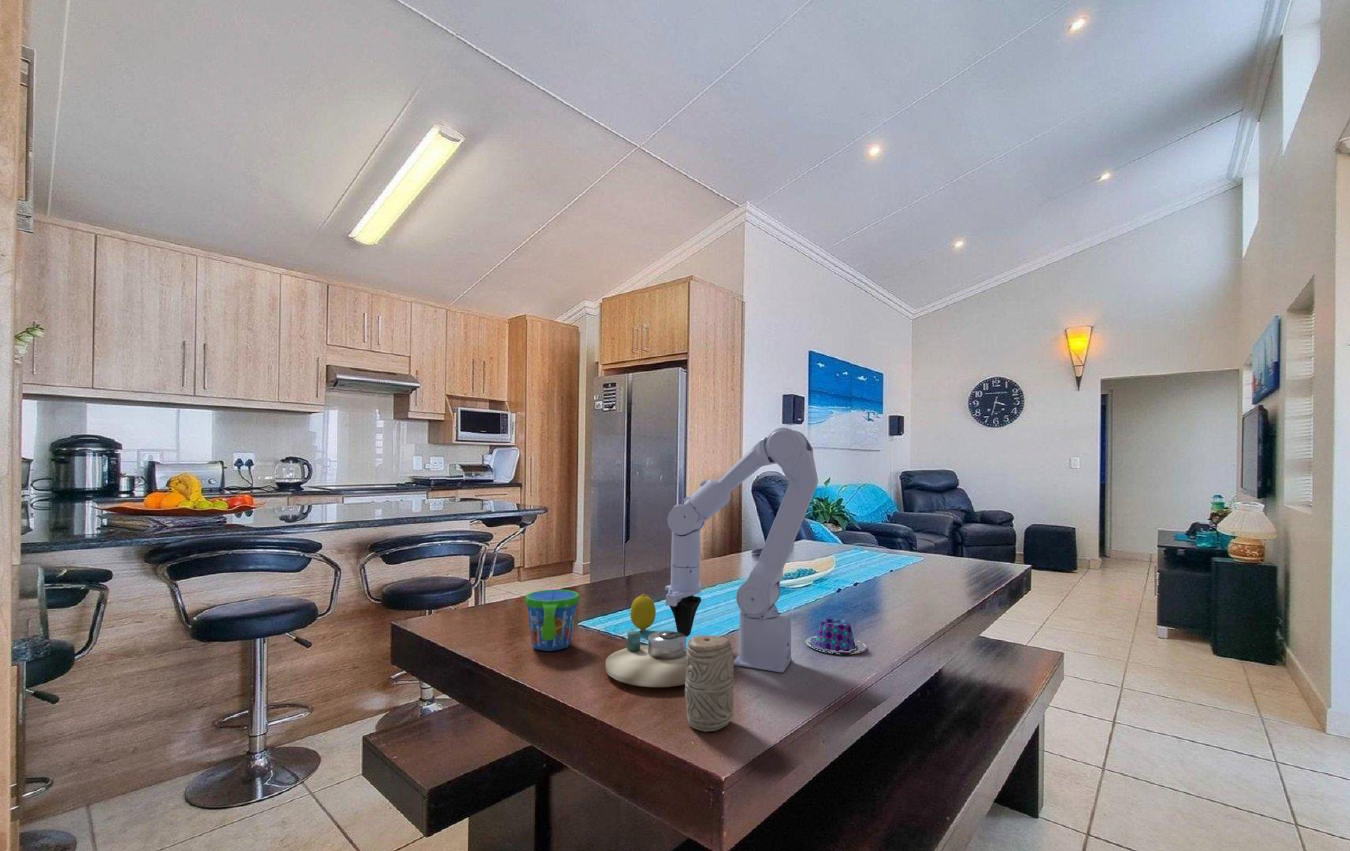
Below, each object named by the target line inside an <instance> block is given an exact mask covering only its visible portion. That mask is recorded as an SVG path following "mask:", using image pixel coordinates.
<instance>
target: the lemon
mask: <svg viewBox="0 0 1350 851" xmlns="http://www.w3.org/2000/svg"><path fill="white" fill-rule="evenodd" d="M656 614H657V612H656V606H655V602H654V600H653V599H652V598H651V597H650V596H648V595H646V594H645V593H642V594H641V595H639V596H637V597H636V598H635V599H634V600H632V603H631V607H630V621H631V623H632V624H633V626H634V627H635V628H637V629H639V630H640V631H641V632H645V631H646V629H648V628H650V627H651V626H652V625H653V624H654V622H655V621H656V620H655V619H656Z"/></svg>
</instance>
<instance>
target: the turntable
mask: <svg viewBox="0 0 1350 851" xmlns="http://www.w3.org/2000/svg"><path fill="white" fill-rule="evenodd" d="M626 644H627V646H626V647H625V648H621V649H619V650H616V651H615V652H613V653H611V654H610V655H608V656H607V657H606V659H605V672H606V673H607V674H608V676H609V677H611V678H613V679H614V680H616V681H618V682H620V683H621V682H622V683H624V684H627V685H630V686H637V687H646V688H671V687H677V686H682V685H685V682H686V679H685V678H686V665H687V659H686V657H687V651H688V650H687V647H686V655H685V656H684V657H683V658H680V659H675V660H660V659H655V658H652V657H650V656H649V655H648V644H644V645H641V632H640V631H636V630H635V631H634V630H632V631H628V632H627V643H626Z"/></svg>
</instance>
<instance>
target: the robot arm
mask: <svg viewBox="0 0 1350 851" xmlns="http://www.w3.org/2000/svg"><path fill="white" fill-rule="evenodd" d="M775 464H777V465H778V466H779V467H780V468H781V470H782V473H783V475H784V476H785V479H786V480H787V482H788V485H787V488H786V491H785V493H784V495H783V498H782V500H781V503H780V505H779V507H778V510H777V513H776V516H775V518H774V520H773V523H772V525H771V527H770V530H769V533H768V535H767V538H766V539H765V542H764V545H763V547H762V549H761V551H760V552H761V553H760V555H759V557H758V560H757V562H756V563H755V565H754V567H753V569H752V570H751V571H750V573H749V576H748V578H747V579H746V581H745V582H743V583H742V584H741V585H740V586H739V587H738V589H737V591H736V595H735V596H736V597H735V599H736V600H735V601H736V603H737V606H738V608H739V643H738V644H739V646H738V648H739V649H738V650H739V651H738V652H739V653H738V656H736V657H735V658H734V659H733V661H734V666H740V667H745V668H746V667H747V668H752V669H757V670H765V671H771V672H777V673H784V672H786V671H785V670H786V669H787V667H788V666H789V664H790V662H791V661H792V659H793V657H792V622H791V618H789V617H787V616H785V615H784V616H783V615H781V614H779V610H778V607H777V605H776V602H778V600H779V599H780V596H781V581H782V579H783V578H782V577H783V575H784V568H785V565H786V562H787V560H788V558H789V556H790V552H791V551H792V548H793V546H794V543H795V541H796V537H797V535H798V534H799V531H800V528H801V526H802V524H803V521H804V518H805V517H806V514H807V511H808V509H809V507H810V504H811V502H812V498H813V496H814V494H815V491H816V490H817V486H818V483H819V478H818V473H817V469H816V462H815V458H814V449H813V447H812V445H811V443H810V441H809V440H808V438H807V437H806V436H805V434H803V432H800V431H798V430H793V429H792V428H788V427H777V428H776V429H774V430H772V431H771V432H770V433H769V434H768V436H765V437H764V438H761V439H760V440H758V442H757V443H756V444H755V445H754V446H753V447H751V449H749V450H748V451H747V452H746V453H745V454H744V455H743V456H742V457H741V458H740V459H739V460H737V462H736V463H735V464H734V465H733V466H732V467H731V468H729V469H728V471H727V472H726V473H725V474H723V476H721V477H720V478H719V479H717V478H710V479H708V480H707V479H706V480H703V481H702V482H700V483H699V485H700V487H699V488H698V489H697V490H696V491H695V492H693V494H692V495H690V496H686V497H685V498H684V499H682V500H683V504H676V505H674V506H673V507H672V508H671V510H670V511H669V513H668V516H667V526H668V528H669V530H670V531H671V546H670V547H671V548H670V549H671V553H670V555H671V556H670V559H671V560H670V584H668V585H666V586H665V588H664V591H668V593H667V594H665V606H668V607H669V608H670V610H671V612H672V615H673V618H674V621H675V626H676V632H679V633H682V634H684V635H686V638H687V637H689V636H690V635H691V633H692V628H693V624H694V620H695V616H696V614H697V611H698V608H699V607H700V604H701V602H702V597H700V596H696V595H698V594H700V593H701V592H702V591H703V582H702V581H700V576H701V575H700V572H701V571H700V570H701V569H700V568H701V567H700V566H701V564H700V563H701V560H700V559H701V550H700V549H701V530H702V529H703V527H704V525H705V522H707V521H709V519H711V517H713V516H714V515H715V514H716V513H717V512H718V511H720V510H721V509H722V508H724V506H726V505H727V504H728V503H729V502H730V500H731V493H732V491H733V490H735V488H737V487H738V486H739V485H740V484H742V483H743V482H744V481H745V480H747V479H748V478H749V477H750V476H752V475H753V474H754V473H756V472H757V471H758V470H760V469H761V468H762V467H765V466H771V465H775Z"/></svg>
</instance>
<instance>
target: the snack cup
mask: <svg viewBox="0 0 1350 851" xmlns="http://www.w3.org/2000/svg"><path fill="white" fill-rule="evenodd" d="M524 602H525V605H526V607H527V614H528V615H527V616H528V624H529V630H530V631H529V632H530V633H529V634H530V639H531V640H530V641H531V645H532V647H533V649H534V650H539V651H546V652H552V651H559V650H562V649H565V648H566V649H567V648H568V647H569V645H571V642H572V637H573V630H574V626H575V625H574V624H575V618H576V611H577V606H578V604H579V602H580V594H579V593H578V592H576V591H574V590H569V589H545V590H543V589H542V590H537V591H533V592H529V593H527V594H526V595H525V601H524Z"/></svg>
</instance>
